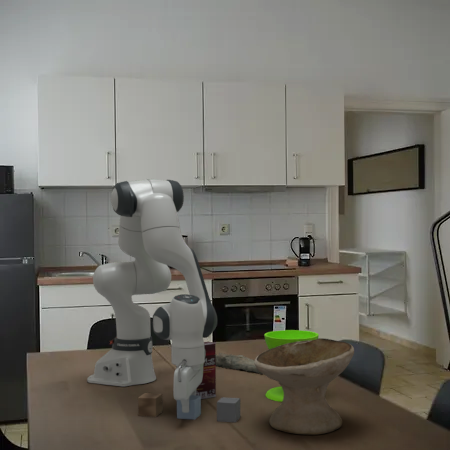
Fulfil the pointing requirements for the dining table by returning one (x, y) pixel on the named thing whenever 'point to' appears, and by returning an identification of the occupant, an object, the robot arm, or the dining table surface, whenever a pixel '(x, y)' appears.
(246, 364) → the long grey stone
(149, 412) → the walnut block
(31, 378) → the dining table surface
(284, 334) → the wineglass
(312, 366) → the bowl
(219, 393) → the dining table surface
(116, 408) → the dining table surface
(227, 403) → the grey block
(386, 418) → the dining table surface
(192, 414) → the slate blue block
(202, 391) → the supplement box
